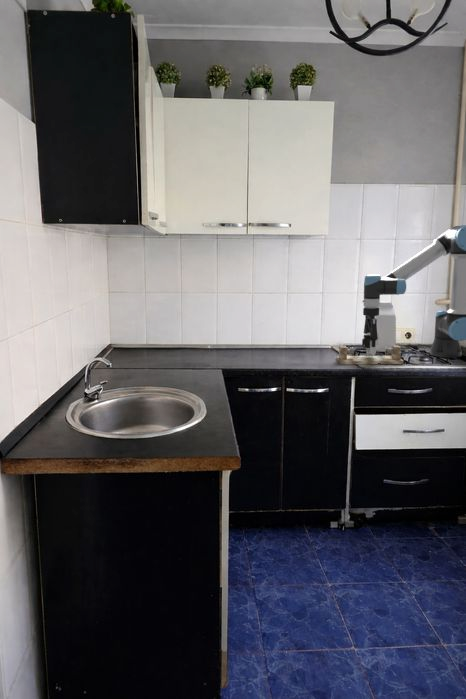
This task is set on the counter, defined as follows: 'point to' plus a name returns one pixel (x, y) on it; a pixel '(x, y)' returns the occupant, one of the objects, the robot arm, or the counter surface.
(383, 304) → the milk
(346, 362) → the pipe stand
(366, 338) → the pneumatic valve
